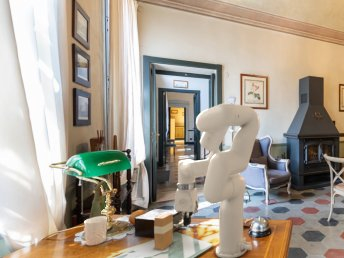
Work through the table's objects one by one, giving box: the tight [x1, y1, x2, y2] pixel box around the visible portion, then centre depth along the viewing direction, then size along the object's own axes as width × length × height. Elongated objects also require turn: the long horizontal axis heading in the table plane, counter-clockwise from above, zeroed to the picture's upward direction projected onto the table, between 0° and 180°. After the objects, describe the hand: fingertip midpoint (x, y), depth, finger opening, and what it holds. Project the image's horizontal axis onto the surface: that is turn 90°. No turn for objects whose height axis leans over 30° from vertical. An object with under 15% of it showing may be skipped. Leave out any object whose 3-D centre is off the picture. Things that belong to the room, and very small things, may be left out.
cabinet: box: [134, 208, 180, 239], centre depth 114 cm, size 15×13×8 cm
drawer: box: [173, 214, 183, 232], centre depth 113 cm, size 18×12×6 cm, turn 78°
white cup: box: [83, 216, 108, 246], centre depth 103 cm, size 8×8×10 cm
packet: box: [154, 213, 174, 251], centre depth 100 cm, size 4×6×13 cm
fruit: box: [128, 209, 147, 226], centre depth 123 cm, size 8×8×8 cm
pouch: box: [88, 178, 108, 222], centre depth 115 cm, size 11×12×25 cm
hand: (187, 224), depth 111 cm, fingers closed
